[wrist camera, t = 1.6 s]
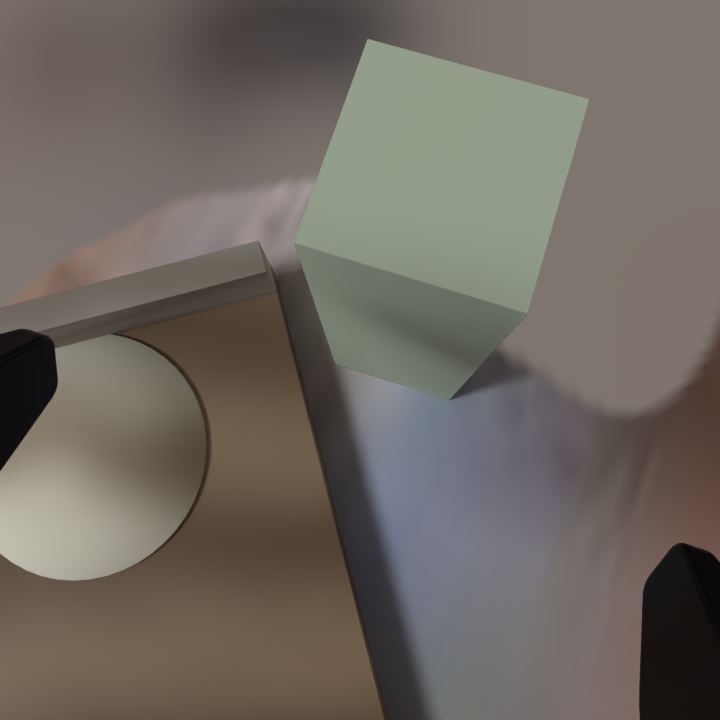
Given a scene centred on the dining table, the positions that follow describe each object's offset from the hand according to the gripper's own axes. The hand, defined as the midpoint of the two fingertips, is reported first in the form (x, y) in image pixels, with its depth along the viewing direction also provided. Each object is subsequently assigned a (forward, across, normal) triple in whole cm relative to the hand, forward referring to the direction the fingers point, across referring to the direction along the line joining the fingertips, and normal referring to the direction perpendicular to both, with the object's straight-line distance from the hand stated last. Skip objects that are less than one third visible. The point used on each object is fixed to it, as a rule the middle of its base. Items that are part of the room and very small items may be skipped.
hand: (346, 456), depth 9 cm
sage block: (+12, 0, +5) cm, 13 cm away
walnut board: (+5, +6, +12) cm, 15 cm away
